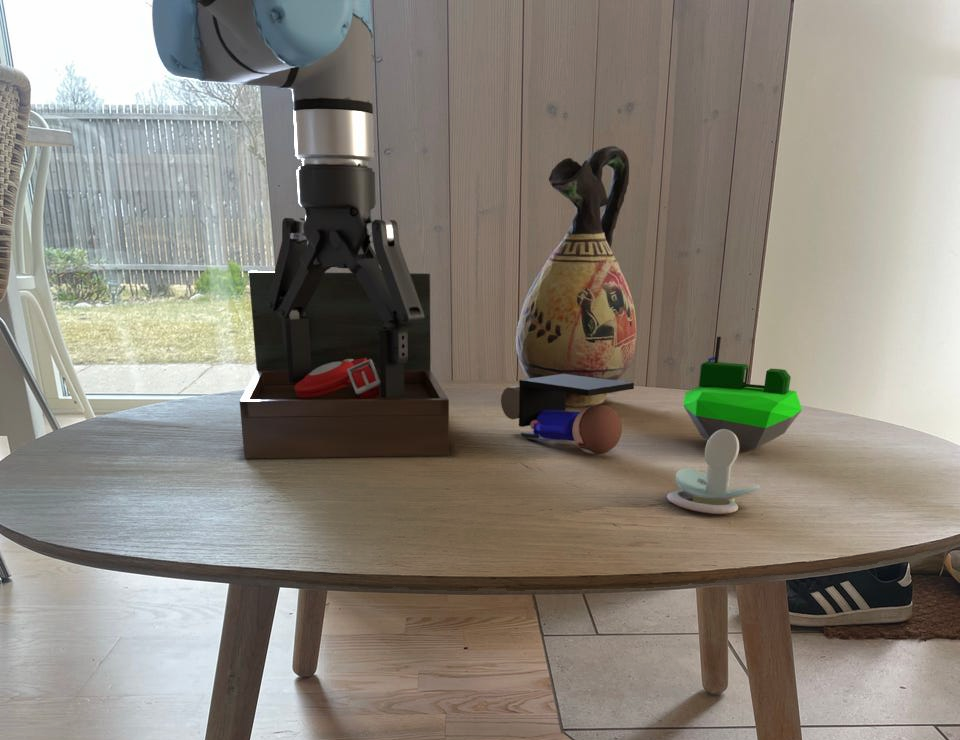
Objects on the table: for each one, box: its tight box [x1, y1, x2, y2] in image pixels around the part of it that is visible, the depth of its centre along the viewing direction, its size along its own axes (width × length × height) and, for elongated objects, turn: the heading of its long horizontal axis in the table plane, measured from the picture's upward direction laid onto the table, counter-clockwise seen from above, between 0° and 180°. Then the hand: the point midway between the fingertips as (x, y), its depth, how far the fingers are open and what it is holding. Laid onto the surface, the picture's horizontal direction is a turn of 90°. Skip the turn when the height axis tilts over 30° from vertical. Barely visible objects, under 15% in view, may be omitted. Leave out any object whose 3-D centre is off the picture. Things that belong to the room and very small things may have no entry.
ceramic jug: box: [515, 145, 638, 408], centre depth 117 cm, size 17×15×30 cm
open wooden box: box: [239, 270, 450, 460], centre depth 97 cm, size 21×20×16 cm
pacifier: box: [667, 429, 761, 515], centre depth 76 cm, size 7×6×6 cm
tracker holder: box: [294, 358, 381, 399], centre depth 99 cm, size 12×4×10 cm
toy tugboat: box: [682, 336, 803, 453], centre depth 96 cm, size 12×12×11 cm
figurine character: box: [500, 374, 635, 455], centre depth 97 cm, size 7×8×15 cm
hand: (344, 388), depth 98 cm, fingers open, 13 cm apart
